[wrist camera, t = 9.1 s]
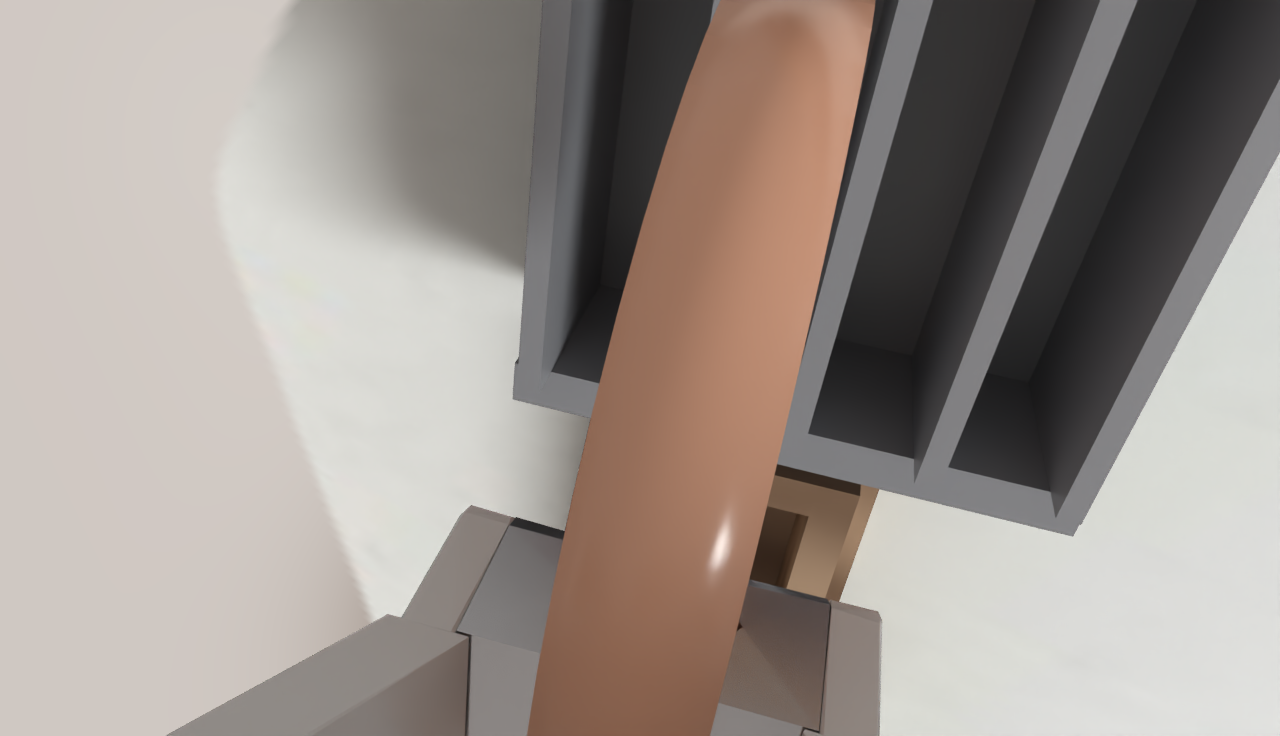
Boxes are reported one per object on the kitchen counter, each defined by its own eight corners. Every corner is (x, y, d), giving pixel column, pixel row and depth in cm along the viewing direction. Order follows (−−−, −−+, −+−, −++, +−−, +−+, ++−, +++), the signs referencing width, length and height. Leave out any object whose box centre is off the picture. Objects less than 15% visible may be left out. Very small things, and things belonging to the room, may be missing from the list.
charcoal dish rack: (1044, 403, 29) (1078, 563, 24) (574, 295, 31) (500, 420, 25) (1330, -219, 20) (1499, -203, 14) (637, -324, 22) (542, -347, 16)
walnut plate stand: (800, 694, 39) (789, 794, 35) (633, 649, 40) (605, 741, 36) (899, 414, 31) (899, 505, 27) (686, 364, 32) (658, 446, 28)
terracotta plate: (741, 487, 20) (609, 1097, 11) (676, 470, 20) (493, 1058, 11) (885, -84, 14) (846, 257, 5) (788, -101, 14) (577, 199, 5)
